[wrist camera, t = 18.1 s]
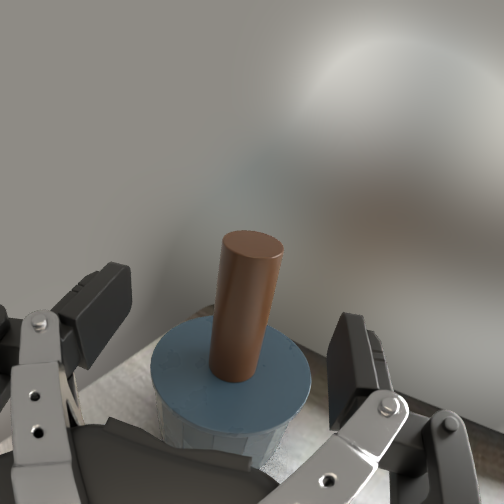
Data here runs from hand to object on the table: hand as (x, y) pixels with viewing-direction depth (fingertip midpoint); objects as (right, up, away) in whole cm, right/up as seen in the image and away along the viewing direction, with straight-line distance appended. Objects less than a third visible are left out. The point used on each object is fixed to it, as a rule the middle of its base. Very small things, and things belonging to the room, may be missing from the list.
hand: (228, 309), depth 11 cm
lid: (0, -5, +7) cm, 8 cm away
